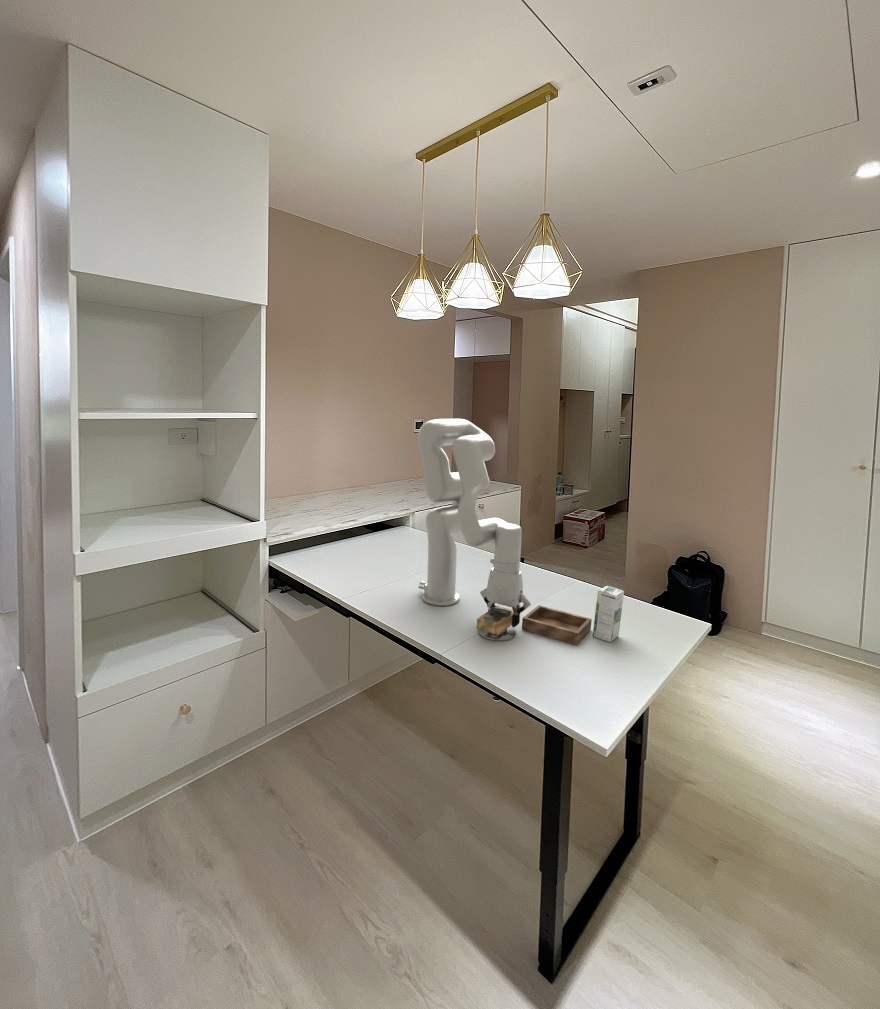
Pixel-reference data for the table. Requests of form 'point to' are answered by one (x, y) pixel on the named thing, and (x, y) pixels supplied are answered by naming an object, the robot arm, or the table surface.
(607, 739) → the table surface
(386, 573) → the table surface
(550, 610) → the tray
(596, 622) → the syrup box
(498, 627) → the light wooden frame
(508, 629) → the door handle
